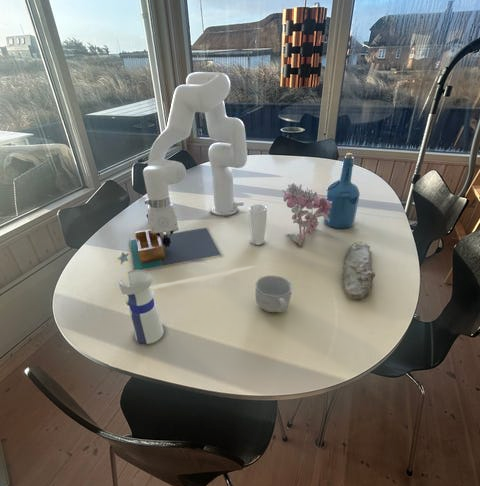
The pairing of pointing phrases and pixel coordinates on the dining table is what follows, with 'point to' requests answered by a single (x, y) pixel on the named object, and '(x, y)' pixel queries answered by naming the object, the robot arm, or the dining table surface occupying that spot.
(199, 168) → the dining table surface
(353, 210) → the wine bottle
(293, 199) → the flower
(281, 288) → the teacup
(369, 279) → the long grey stone
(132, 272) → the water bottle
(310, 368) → the dining table surface
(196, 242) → the mat
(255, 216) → the drinking glass
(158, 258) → the rack
